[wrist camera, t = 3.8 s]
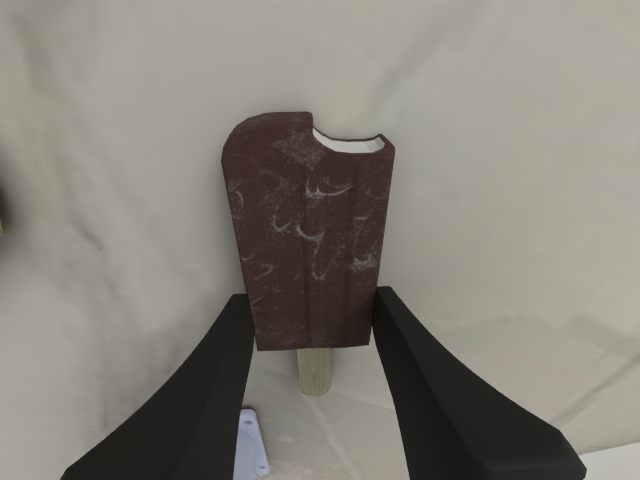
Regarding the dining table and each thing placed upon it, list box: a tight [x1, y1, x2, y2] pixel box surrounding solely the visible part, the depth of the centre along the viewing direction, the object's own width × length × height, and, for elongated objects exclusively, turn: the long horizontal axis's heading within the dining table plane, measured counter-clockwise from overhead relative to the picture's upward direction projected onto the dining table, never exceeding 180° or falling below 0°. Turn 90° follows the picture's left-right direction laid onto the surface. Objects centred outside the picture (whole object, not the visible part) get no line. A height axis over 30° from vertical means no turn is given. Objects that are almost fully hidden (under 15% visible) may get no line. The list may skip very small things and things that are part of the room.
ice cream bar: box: [221, 112, 395, 396], centre depth 13 cm, size 5×2×15 cm
